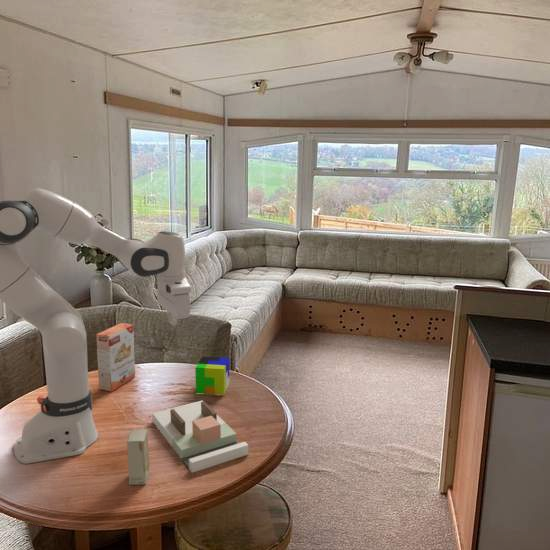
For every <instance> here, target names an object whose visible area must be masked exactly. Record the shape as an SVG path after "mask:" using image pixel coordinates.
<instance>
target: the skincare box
mask: <svg viewBox="0 0 550 550" xmlns="http://www.w3.org/2000/svg"><path fill="white" fill-rule="evenodd" d="M148 431H149V430H148V429H131V430H130V433H129V436H128V439H127V441H126V447H127V448H126V449H127V463H128V464H127V468H128V484H129V485H130V486H131V485H132V486H133V485H134V486H136V485H137V486H139V485H146V484H147V481H148V478H149V474H150V459H149V458H150V457H149V456H150V455H149V433H148Z"/></svg>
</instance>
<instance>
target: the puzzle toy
mask: <svg viewBox="0 0 550 550" xmlns="http://www.w3.org/2000/svg"><path fill="white" fill-rule="evenodd" d="M194 372H195V394H196V393H204V394H225V395H226V392H227V390H228V388H227V387H229V385H230V357H219V356H218V357H217V356H216V357H215V356H201V358H200V359H199V361H198V363H197V364H196V366H195V371H194ZM226 389H227V390H226ZM225 391H226V392H225ZM204 394H203V395H204Z"/></svg>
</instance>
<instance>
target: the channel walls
mask: <svg viewBox="0 0 550 550" xmlns="http://www.w3.org/2000/svg"><path fill="white" fill-rule="evenodd" d="M170 414H171V423H172V424H173V425H174V426H175V427H176V429H177V430H178V431H179V432H180V433H181V435H185V421H184V420H183V419H182V418H181V417H180V416H179V415H178V413H177V412H176V411H175V410H174V409H171V410H170ZM201 414H202V415H203V416H204V417H208V416H212V417H213V418H214V419H215V420H216V421H217V415H218V414H217V412H216V411H215V410H214V409H213V408H212V407H211V406H209V404H208V403H207V402H205V401H204V400H203V402H201Z"/></svg>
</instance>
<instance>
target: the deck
mask: <svg viewBox="0 0 550 550" xmlns="http://www.w3.org/2000/svg"><path fill="white" fill-rule="evenodd" d="M203 401H204V400H199V401H195V402H190V403H187V404H183V405H180V406H174V407H171V408H168V409H163V410H159V411H155V412H152V413H151V414H152V415H151V416H152V417H151V418H152V424H154V426H155V425H156V426H155V427H156V428H157V429H158V431H159V430H160V431H159V432H160V434H161V435H162V436H163V437H164V439H165V440H166V441H167V443H169V445H170V446H171V448H172V447H173V448H172V449H173V451H175V452H176V454H177V455H178V457H179V458H180V459H181V461H182V462H183V463H184V464H185V466H186V467H187V468H188V470H189V471H190V472H191V473H192V474H193V473H196V472H199V471H202V470H205V469H208V468H209V469H210V468H211V467H214V466H218V465H221V464H224V463H227V462H230V461H232V460H236V459H238V458H242V457H245V456H247V455H249V444H248V443H247V442H246V441H242V442H238V440H237V439H238V437H237V435H238V433H236V432H235V430H233V428H232V427H230V426H229V425H228V424H227V423H226V422H225V421H224V420H223V419H222V418H221V417H220V416H219V415H218V414H217V422H218V423H219V424H220V425H221V439H219V440H215V441H212V442H209V443H205V444H202V445H201V444H200V443H199V442H198V440H197V439H196V438H195V437H194V436H193V429H192V421H194V420H197V419H201V418H204V416H203V415H202V414H201V402H203ZM171 409H174V410H175V411H176V412H177V413H178V415H179V416H180V417H181V418H182V419H183V420H184V421H185V435H181V433H180V432H179V431H178V430H177V429H176V427H175V426H174V425H173V424H172V423H171V414H170V410H171Z"/></svg>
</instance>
